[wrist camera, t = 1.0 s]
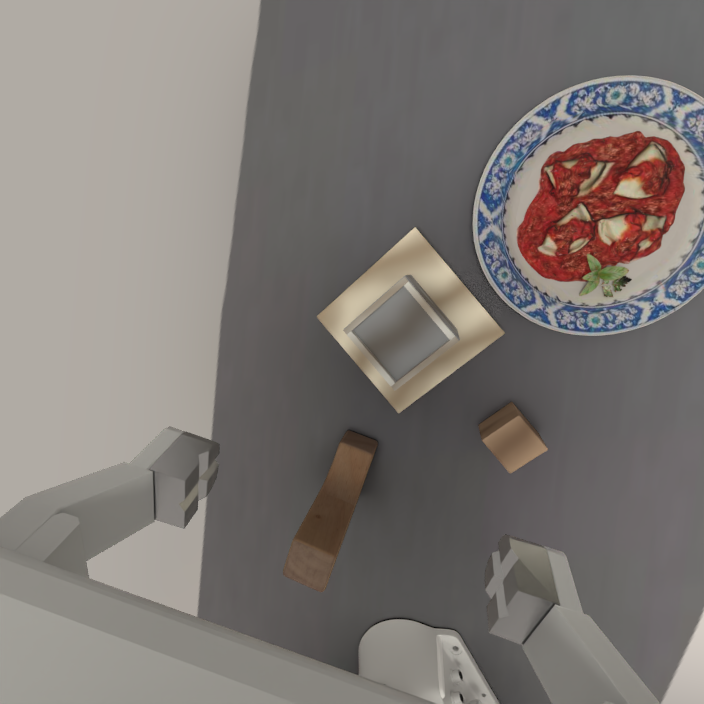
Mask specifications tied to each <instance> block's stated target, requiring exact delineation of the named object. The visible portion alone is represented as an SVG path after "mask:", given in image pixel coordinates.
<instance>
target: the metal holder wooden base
mask: <svg viewBox="0 0 704 704" xmlns="http://www.w3.org/2000/svg"><path fill="white" fill-rule="evenodd" d="M317 318H318V319H319V320H320V321H321V323H322V324H323V325H324V326H325V327H326V329H327V330H328V331H329V332H330V333H331V334H332V336H333V337H334V338H335V339H336V340H337V341H338V343H339V344H340V345H341V346H342V347H343V349H344V350H345V351H346V352H347V353H348V354H349V356H350V357H351V358H352V359H353V360H354V361H355V363H356V364H357V365H358V366H359V367H360V369H361V370H362V371H363V372H364V373H365V374H366V376H367V377H368V378H369V379H370V380H371V381H372V383H373V384H374V385H375V386H376V387H377V389H378V390H379V391H380V392H381V393H382V394H383V396H384V397H385V398H386V399H387V400H388V401H389V403H390V404H391V405H392V406H393V407H394V409H395V410H396V411H397V412H398V413H400V412H401V411H403V410H404V409H405V408H407V407H408V406H409V405H411V404H412V403H413V402H415V401H416V400H417V399H419V398H420V397H421V396H423V395H424V394H425V393H427V392H428V391H429V390H430V389H432V388H433V387H434V386H436V385H437V384H438V383H440V382H441V381H442V380H444V379H445V378H446V377H448V376H449V375H450V374H452V373H453V372H454V371H456V370H457V369H458V368H460V367H461V366H462V365H464V364H465V363H466V362H468V361H469V360H470V359H472V358H473V357H474V356H475V355H477V354H478V353H479V352H481V351H482V350H483V349H485V348H486V347H487V346H489V345H490V344H491V343H493V342H494V341H495V340H497V339H498V338H499V337H501V336H502V335H503V334H505V333H504V332H503V330H502V329H501V328H500V327H499V326H498V324H497V323H496V322H495V321H494V320H493V319H492V317H491V316H490V315H489V314H488V313H487V311H486V310H485V309H484V308H483V307H482V306H481V304H480V303H479V302H478V301H477V300H476V298H475V297H474V296H473V295H472V294H471V293H470V291H469V290H468V289H467V288H466V287H465V285H464V284H463V283H462V282H461V281H460V280H459V278H458V277H457V276H456V275H455V274H454V272H453V271H452V270H451V269H450V268H449V266H448V265H447V264H446V263H445V262H444V261H443V259H442V258H441V257H440V256H439V255H438V253H437V252H436V251H435V250H434V249H433V248H432V246H431V245H430V244H429V243H428V242H427V240H426V239H425V238H424V237H423V236H422V235H421V233H420V232H419V231H418V230H417V229H416V227H415V228H414V229H413V230H411V231H410V232H409V233H408V234H407V235H406V236H405V237H404V238H403V239H402V240H400V241H399V242H398V243H397V244H396V245H395V246H394V247H393V248H392V249H391V250H389V251H388V252H387V253H386V254H385V255H384V256H383V257H382V258H381V259H380V260H378V261H377V262H376V263H375V264H374V265H373V266H372V267H371V268H370V269H368V270H367V271H366V272H365V273H364V274H363V275H362V276H361V277H360V278H359V279H357V280H356V281H355V282H354V283H353V284H352V285H351V286H350V287H349V288H348V289H346V290H345V291H344V292H343V293H342V294H341V295H340V296H339V297H338V298H337V299H335V300H334V301H333V302H332V303H331V304H330V305H329V306H328V307H327V308H326V309H324V310H323V311H322V312H321V313H320V314H319V315H318V316H317Z"/></svg>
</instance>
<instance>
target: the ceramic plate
mask: <svg viewBox="0 0 704 704" xmlns="http://www.w3.org/2000/svg"><path fill="white" fill-rule="evenodd" d="M473 237H474V244H475V249H476V253H477V256H478V259H479V262H480V265H481V267H482V270H483V272H484V274H485V276H486V278H487V279H488V281H489V283H490V284H491V286H492V287H493V289H494V290H495V291H496V292H497V294H498V295H499V296H500V297H501V298H502V300H503V301H504V302H506V303H507V304H508V305H509V306H510V307H511V308H512V309H514V310H515V311H516V312H518V313H519V314H520V315H522V316H523V317H525V318H527V319H528V320H530V321H532V322H534V323H536V324H538V325H540V326H543V327H546V328H548V329H551V330H555V331H558V332H562V333H568V334H574V335H587V336H600V335H610V334H616V333H622V332H627V331H630V330H634V329H637V328H641V327H643V326H646V325H649V324H651V323H653V322H656V321H658V320H660V319H662V318H664V317H666V316H667V315H669V314H671V313H673V312H674V311H676V310H678V309H679V308H681V307H682V306H683V305H685V304H686V303H688V302H689V301H690V300H691V299H692V298H694V297H695V296H696V295H697V294H698V293H699V292H701V291H702V290H703V289H704V98H702V97H701V96H699V95H698V94H696V93H694V92H692V91H691V90H689V89H687V88H685V87H683V86H680V85H678V84H675V83H673V82H670V81H666V80H662V79H658V78H652V77H646V76H633V75H629V76H613V77H605V78H600V79H595V80H591V81H587V82H584V83H581V84H578V85H575V86H573V87H570V88H568V89H566V90H563V91H561V92H559V93H558V94H556V95H554V96H552V97H550V98H548V99H547V100H545V101H544V102H542V103H541V104H539V105H538V106H536V107H535V108H534V109H532V110H531V111H530V112H529V113H527V114H526V115H525V116H524V117H523V118H522V119H521V120H520V121H519V122H517V123H516V124H515V125H514V127H513V128H512V129H511V130H510V131H509V132H508V133H507V134H506V136H505V137H504V138H503V140H502V141H501V142H500V143H499V145H498V146H497V148H496V149H495V151H494V153H493V154H492V156H491V158H490V160H489V162H488V163H487V165H486V167H485V170H484V172H483V175H482V177H481V179H480V183H479V186H478V189H477V193H476V197H475V202H474V210H473Z"/></svg>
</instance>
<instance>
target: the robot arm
mask: <svg viewBox="0 0 704 704" xmlns="http://www.w3.org/2000/svg"><path fill="white" fill-rule="evenodd" d="M219 453H220V444H219V443H217V442H214V441H211V440H209V439H205V438H203V437H200V436H197V435H194V434H191V433H188V432H185V431H182V430H179V429H176V428H173V427H168V428H165V429H164V430H163V431H162V432H161V433H160V434H159V435H158V436H157V437H156V438H155V439H154V440H153V441H152V442H151V443H150V444H149V445H148V446H147V447H146V448H145V449H143V451H142V452H141V453H140V454H138V455H137V456H136V457H135V458H134V459H133V460H132V461H131V462H130V463H125V462H123V463H120V464H118V465H115V466H112V467H109V468H107V469H103V470H101V471H98V472H95V473H93V474H89V475H87V476H84V477H81V478H78V479H76V480H72V481H70V482H67V483H64V484H61V485H58V486H56V487H53V488H50V489H47V490H44V491H41V492H39V493H37V494H33V495H30V496H28V497H25V498H24V499H23V500H21V501H20V502H19V503H18V504H17V505H15V506H14V507H13V508H12V509H10V510H9V511H8V512H7V513H6V514H4V515H3V516H2V517H1V518H0V704H500V703H499V702H498V700H497V698H496V697H495V695H494V693H493V691H492V690H491V688H490V686H489V684H488V683H487V681H486V679H485V678H484V676H483V674H482V672H481V671H480V669H479V667H478V665H477V664H476V662H475V660H474V659H473V657H472V655H471V653H470V652H469V650H468V648H467V647H466V645H465V643H464V641H463V640H462V638H461V636H460V635H459V633H457V632H456V631H454V630H450V629H435V628H432V627H429V626H426V625H424V624H421V623H418V622H415V621H411V620H404V619H393V620H387V621H383V622H380V623H378V624H376V625H374V626H373V627H371V628H370V629H369V630H368V631H367V632H366V633H365V634H364V636H363V637H362V639H361V642H360V645H359V651H358V655H359V674H358V675H356V674H353V673H350V672H348V671H345V670H342V669H339V668H337V667H334V666H331V665H328V664H326V663H323V662H320V661H317V660H314V659H312V658H309V657H306V656H303V655H301V654H298V653H295V652H292V651H290V650H287V649H284V648H281V647H278V646H276V645H273V644H270V643H267V642H265V641H262V640H259V639H256V638H253V637H251V636H248V635H245V634H242V633H240V632H237V631H234V630H231V629H228V628H226V627H223V626H220V625H217V624H215V623H212V622H209V621H206V620H204V619H201V618H198V617H195V616H192V615H190V614H187V613H184V612H181V611H179V610H175V609H173V608H170V607H167V606H165V605H162V604H159V603H156V602H153V601H151V600H148V599H145V598H142V597H140V596H136V595H134V594H131V593H129V592H126V591H123V590H120V589H117V588H114V587H112V586H109V585H106V584H104V583H101V582H98V581H95V580H92V579H90V578H89V575H88V569H87V563H86V561H87V560H89V559H91V558H92V557H94V556H96V555H98V554H99V553H101V552H103V551H104V550H106V549H108V548H110V547H112V546H113V545H115V544H117V543H118V542H120V541H122V540H124V539H125V538H127V537H129V536H130V535H132V534H134V533H136V532H137V531H139V530H141V529H142V528H144V527H146V526H148V525H149V524H151V523H153V522H154V520H157V521H161V522H164V523H167V524H170V525H174V526H177V527H180V528H183V529H184V528H185V527H186V525H187V524H188V523H189V521H190V519H191V518H192V517H193V515H194V514H195V513H196V511H197V509H198V501H199V500H201V499H203V498H205V497H207V495H208V494H209V492H210V491H211V489H212V487H213V485H214V483H215V480H216V478H217V474H218V467H219V464H218V463H217V461H216V460H215V459H216V457H217V456H218V455H219ZM498 545H499V551H497V552H494V553H492V554H491V556H490V558H489V560H488V562H487V566H486V570H485V590H486V592H487V593H488V595H489V596H490V598H491V600H490V602H489V603H488V605H487V616H488V627H489V633H491V634H494V635H496V636H499V637H502V638H505V639H507V640H510V641H513V642H515V643H518V644H521V645H523V646H522V648H523V650H524V652H525V654H526V656H527V658H528V659H529V661H530V663H531V665H532V667H533V669H534V671H535V673H536V674H537V676H538V678H539V680H540V682H541V684H542V686H543V688H544V689H545V691H546V693H547V695H548V697H549V699H550V701H551V703H552V704H660V703H659V702H658V700H657V699H656V698H655V697H654V695H653V694H652V693H651V692H650V690H649V689H648V688H647V687H646V685H645V684H644V683H643V682H642V680H641V679H640V678H639V677H638V676H637V674H636V673H635V672H634V671H633V669H632V668H631V667H630V666H629V664H628V663H627V662H626V661H625V659H624V658H623V657H622V656H621V654H620V653H619V652H618V651H617V650H616V648H615V647H614V646H613V645H612V643H611V642H610V641H609V640H608V638H607V637H606V636H605V635H604V633H603V632H602V631H601V630H600V628H599V627H598V626H597V625H596V623H595V622H594V621H593V620H592V619H591V617H590V616H588V615H586V614H583V611H582V608H581V604H580V601H579V597H578V594H577V591H576V587H575V584H574V581H573V577H572V574H571V571H570V567H569V564H568V561H567V557H566V555H565V554H564V553H563V552H561V551H558V550H555V549H552V548H549V547H545V546H542V545H539V544H536V543H533V542H529V541H526V540H523V539H520V538H516V537H513V536H510V535H507V534H505V535H504V536H502V537H501V539H500V541H499V542H498ZM454 646H457V647H454Z"/></svg>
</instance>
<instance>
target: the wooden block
mask: <svg viewBox="0 0 704 704" xmlns="http://www.w3.org/2000/svg"><path fill="white" fill-rule="evenodd" d="M377 445H378V443H377V441H376V440H373V439H370V438H368V437H365V436H363V435H360V434H358V433H355V432H352V431H349V430H348V431H347V432H346V433H345V435H344V436H343V438H342V440H341V441H340V443H339V446H338V449H337V452H336V454H335V457H334V460H333V463H332V465H331V468H330V470H329V473H328V475H327V477H326V480H325V482H324V484H323V486H322V488H321V490H320V492H319V493H318V495H317V497H316V499H315V501H314V503H313V504H312V506H311V508H310V510H309V512H308V513H307V515H306V517H305V519H304V521H303V522H302V524H301V526H300V528H299V530H298V532H297V533H296V535H295V537H294V539H293V541H292V544H291V547H290V550H289V554H288V557H287V560H286V563H285V566H284V569H283V575H284V576H286V577H288V578H290V579H292V580H294V581H297V582H299V583H301V584H303V585H306V586H308V587H310V588H312V589H315V590H317V591H319V592H323V591H324V590H325V589H326V586H327V583H328V580H329V578H330V575H331V572H332V569H333V567H334V564H335V561H336V558H337V556H338V553H339V550H340V547H341V545H342V542H343V539H344V536H345V534H346V531H347V528H348V526H349V523H350V520H351V517H352V515H353V512H354V509H355V506H356V504H357V501H358V498H359V495H360V493H361V490H362V487H363V484H364V481H365V478H366V476H367V473H368V470H369V467H370V464H371V462H372V459H373V456H374V453H375V450H376V448H377Z"/></svg>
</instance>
